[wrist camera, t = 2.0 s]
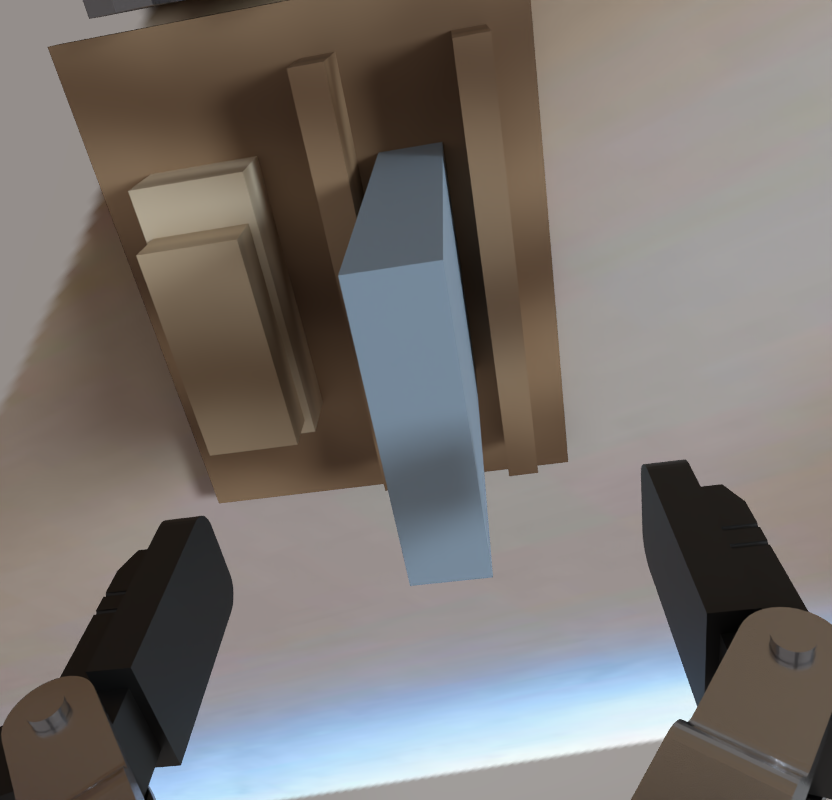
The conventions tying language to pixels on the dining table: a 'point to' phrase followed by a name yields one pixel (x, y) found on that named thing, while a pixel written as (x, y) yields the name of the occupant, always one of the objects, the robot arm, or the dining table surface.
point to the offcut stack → (227, 304)
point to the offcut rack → (348, 191)
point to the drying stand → (119, 6)
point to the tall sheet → (419, 364)
